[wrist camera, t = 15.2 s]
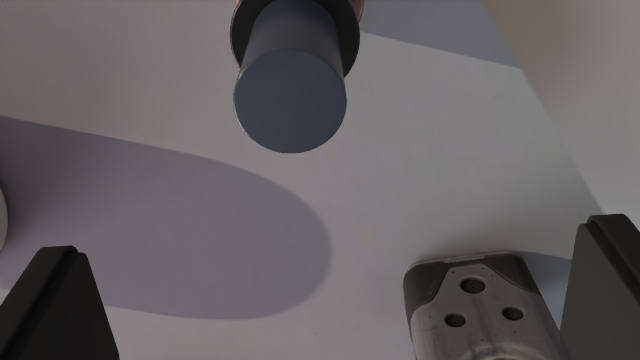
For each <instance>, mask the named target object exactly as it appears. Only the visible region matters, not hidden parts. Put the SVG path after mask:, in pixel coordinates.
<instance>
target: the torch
mask: <svg viewBox="0 0 640 360" xmlns="http://www.w3.org/2000/svg"><path fill="white" fill-rule="evenodd" d="M230 43H231V48H232V53H233V55H234V58H235V61H236V63H237V65H238V67H239V68H240V72H239V75H238V78H237V82H236V85H235V89H234V96H233V103H234V110H235V114H236V117H237V120H238V122H239V124H240V125H241V127H242V128H243V130H244V131H245V132H246V134H247V135H248V136H249V137H250V138H251V139H253V140H254V141H255V142H256V143H258V144H260V145H261V146H263V147H265V148H267V149H270V150H273V151H276V152H281V153H301V152H306V151H309V150H312V149H315V148H317V147H319V146H321V145H322V144H324V143H325V142H326V141H328V140H329V139H330V138H331V137H332V136H333V135H334V134H335V133H336V131H337V130H338V129H339V127H340V125H341V123H342V121H343V119H344V116H345V112H346V103H347V98H346V91H345V83H344V78H345V77H346V75H347V74H348V73H349V71H350V70H351V68H352V66H353V64H354V62H355V60H356V57H357V54H358V50H359V44H360V31H359V24H358V20H357V16H356V12H355V8H354V4H353V0H239V2H238V4H237V6H236V9H235V11H234V14H233V17H232V21H231V26H230Z"/></svg>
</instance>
